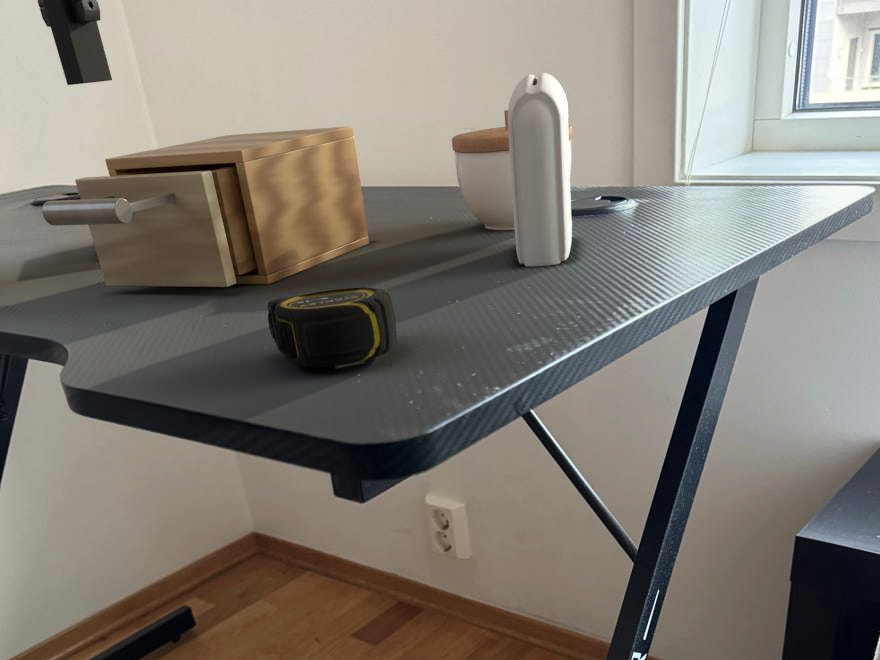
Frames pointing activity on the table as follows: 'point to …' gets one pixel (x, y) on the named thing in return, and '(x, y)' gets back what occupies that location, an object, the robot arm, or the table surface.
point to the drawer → (164, 225)
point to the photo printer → (540, 171)
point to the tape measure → (333, 326)
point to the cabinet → (282, 193)
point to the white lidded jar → (488, 174)
